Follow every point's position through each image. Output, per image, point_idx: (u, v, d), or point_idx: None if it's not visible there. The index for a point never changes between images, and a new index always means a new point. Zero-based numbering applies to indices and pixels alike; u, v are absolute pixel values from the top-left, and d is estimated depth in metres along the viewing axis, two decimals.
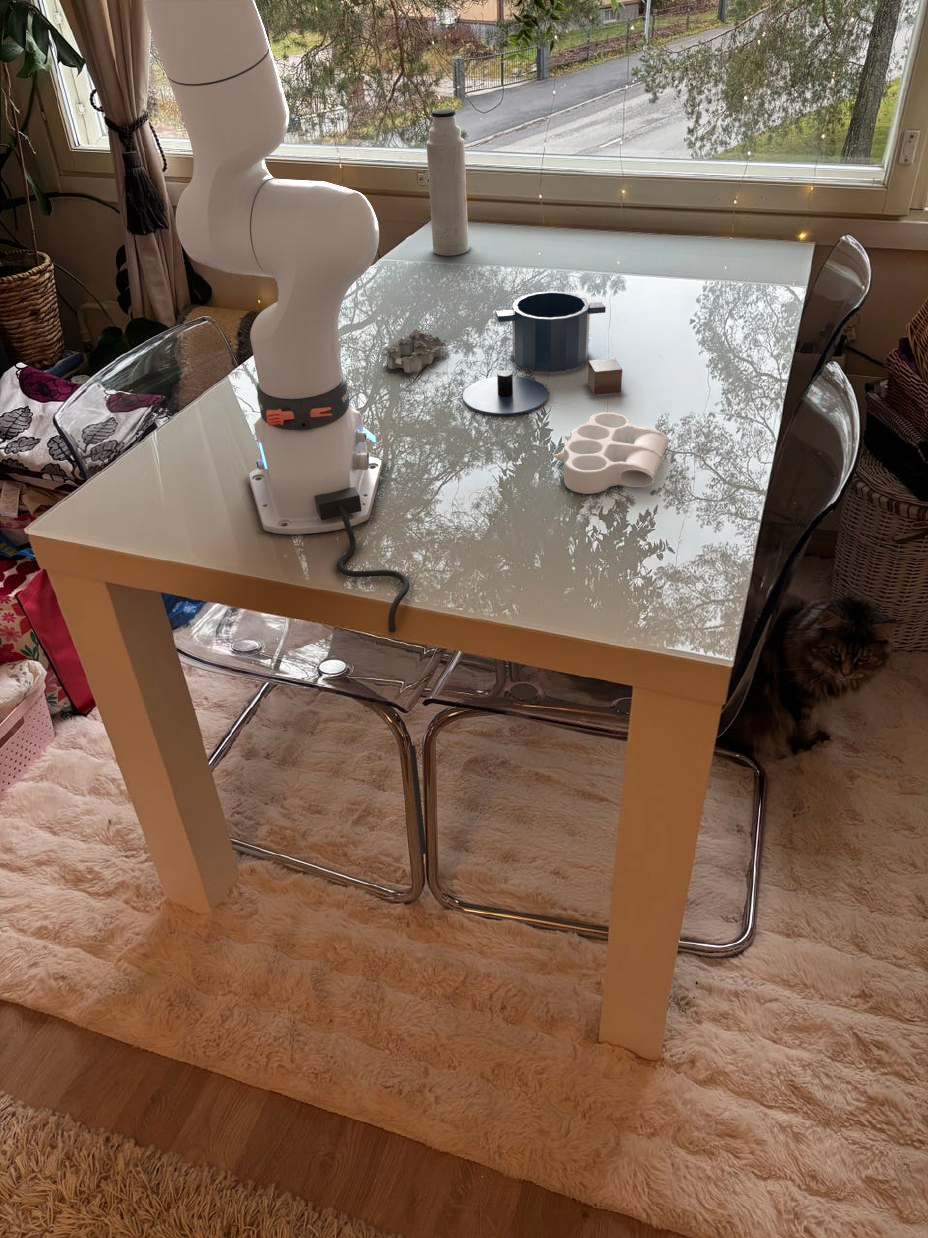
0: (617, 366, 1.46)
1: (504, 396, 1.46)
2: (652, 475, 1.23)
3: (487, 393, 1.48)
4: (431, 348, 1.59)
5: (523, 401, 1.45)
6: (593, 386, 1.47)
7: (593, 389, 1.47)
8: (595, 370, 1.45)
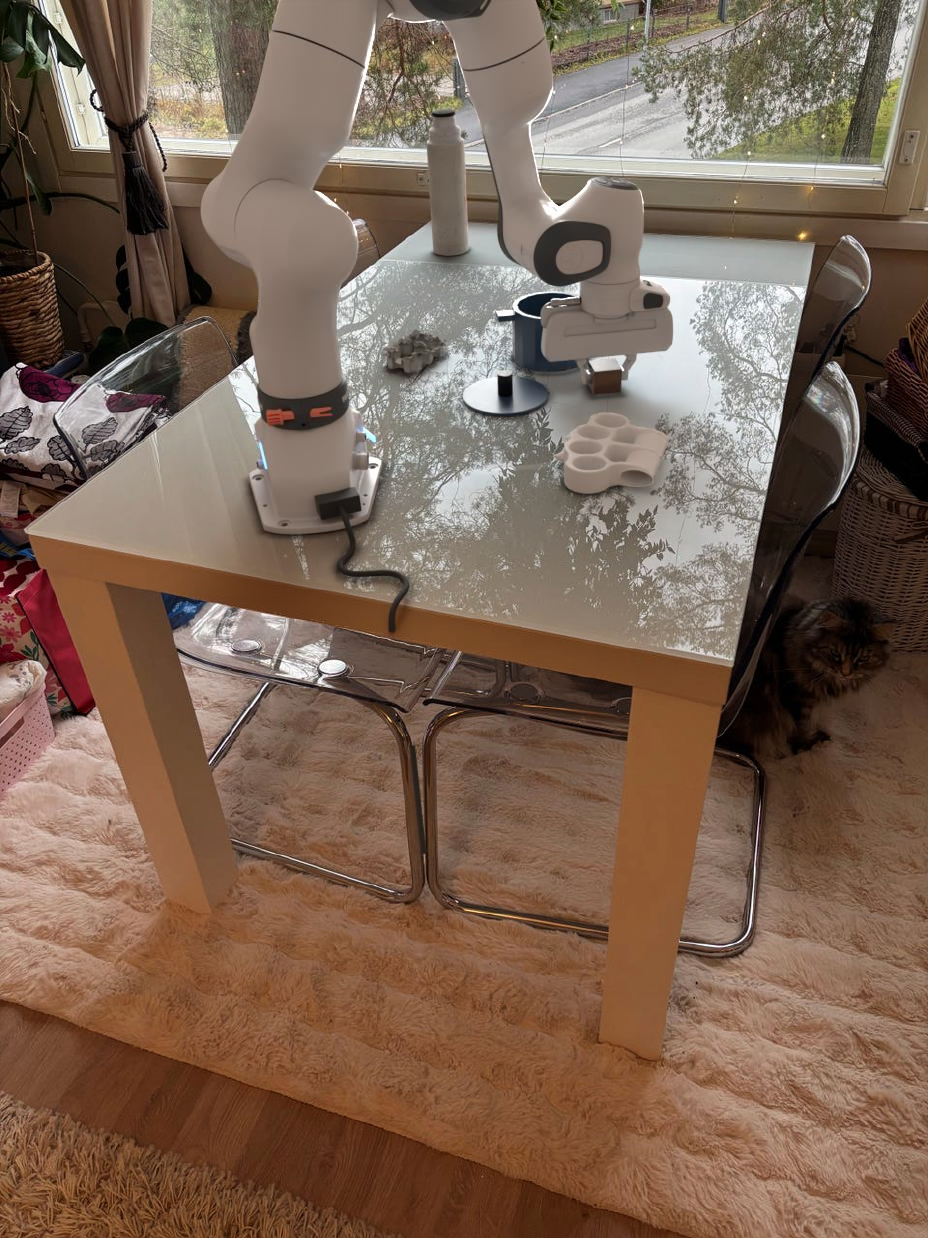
0: (617, 366, 1.46)
1: (504, 396, 1.46)
2: (652, 475, 1.23)
3: (487, 393, 1.48)
4: (431, 348, 1.59)
5: (523, 401, 1.45)
6: (593, 386, 1.47)
7: (593, 389, 1.47)
8: (595, 370, 1.45)
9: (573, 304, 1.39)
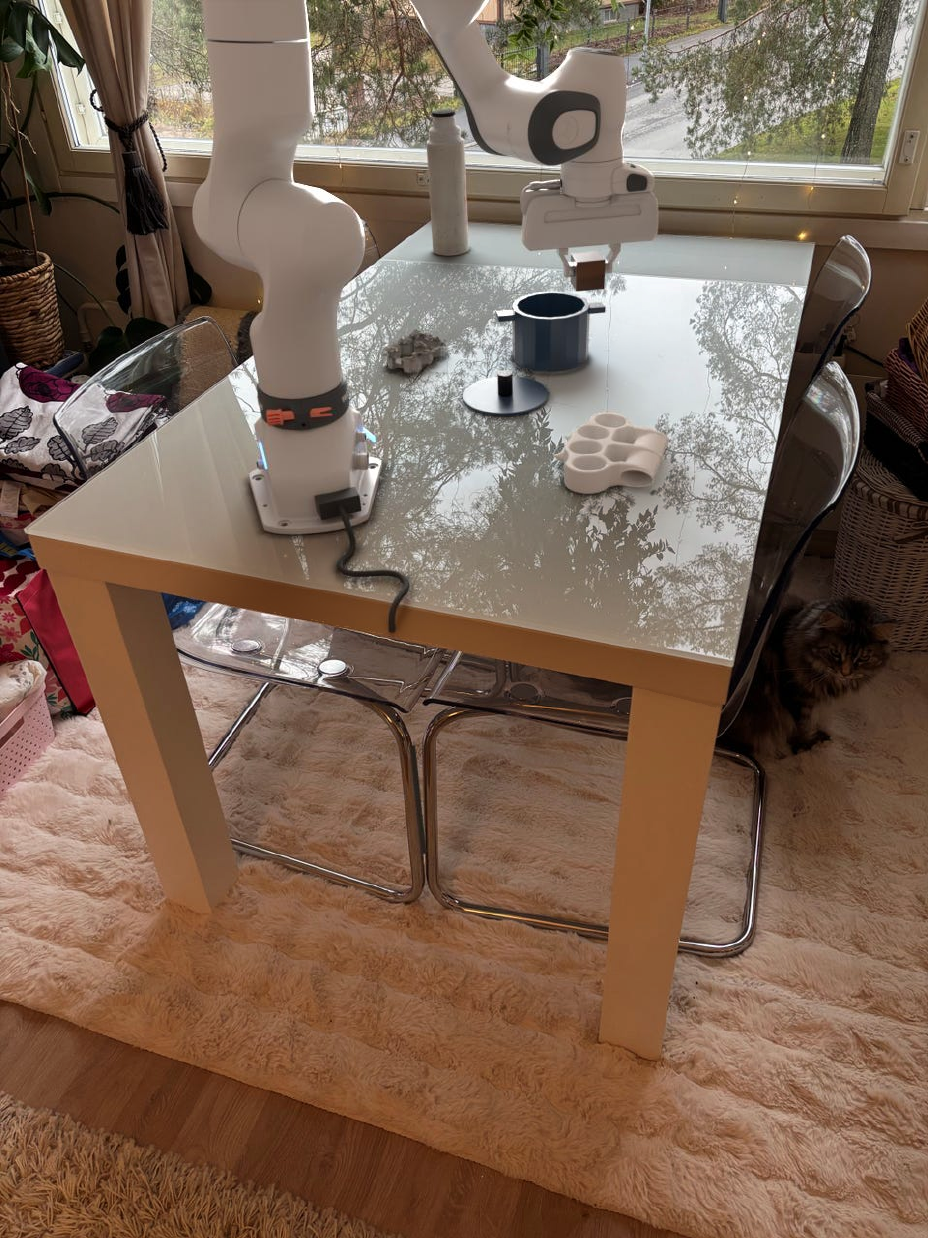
0: (600, 257, 1.40)
1: (504, 396, 1.46)
2: (652, 475, 1.23)
3: (487, 393, 1.48)
4: (431, 348, 1.59)
5: (523, 401, 1.45)
6: (575, 279, 1.41)
7: (575, 282, 1.41)
8: (577, 261, 1.39)
9: (554, 187, 1.34)
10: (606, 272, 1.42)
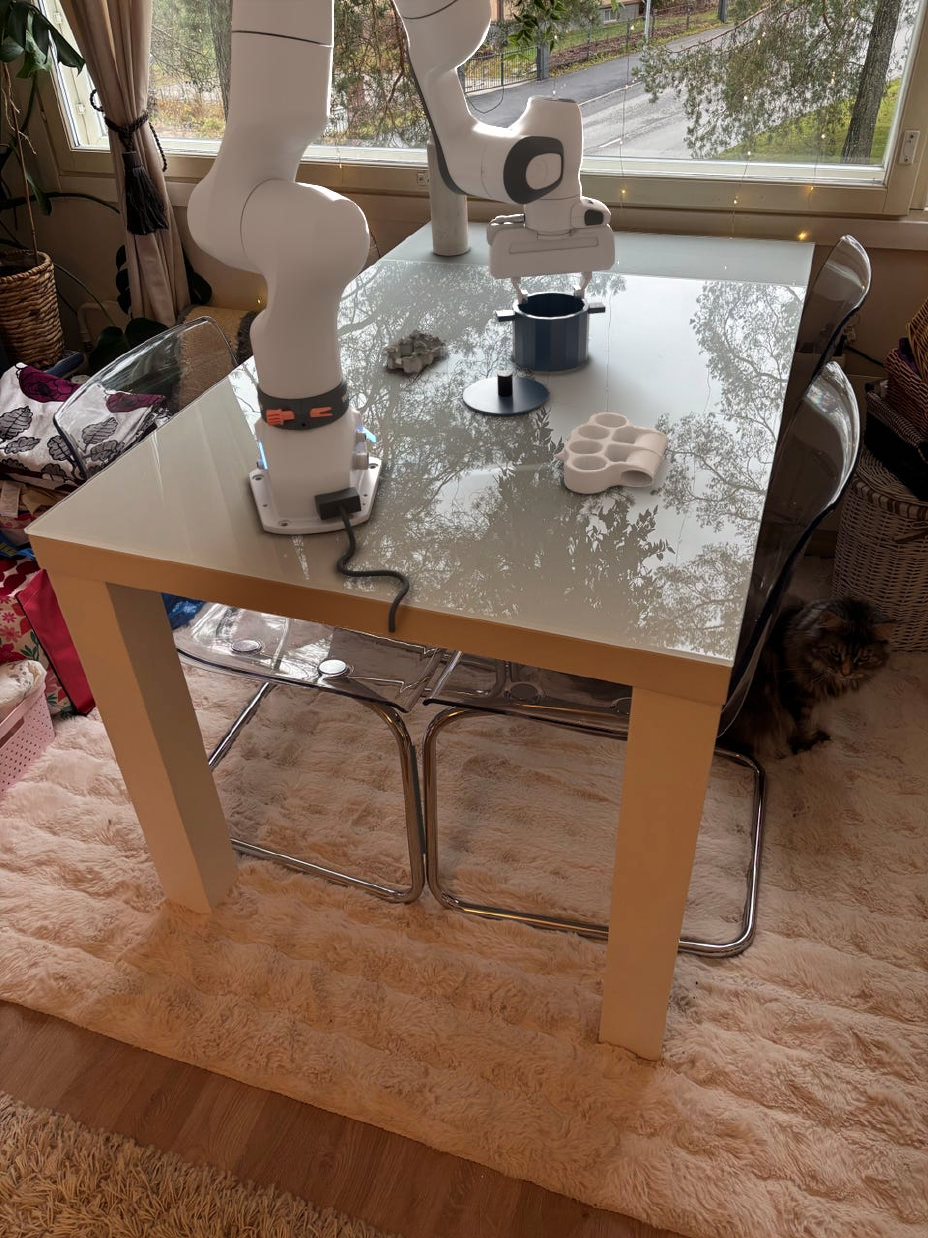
0: None
1: (504, 396, 1.46)
2: (652, 475, 1.23)
3: (487, 393, 1.48)
4: (431, 348, 1.59)
5: (523, 401, 1.45)
6: None
7: None
8: None
9: (517, 221, 1.44)
10: (579, 297, 1.53)
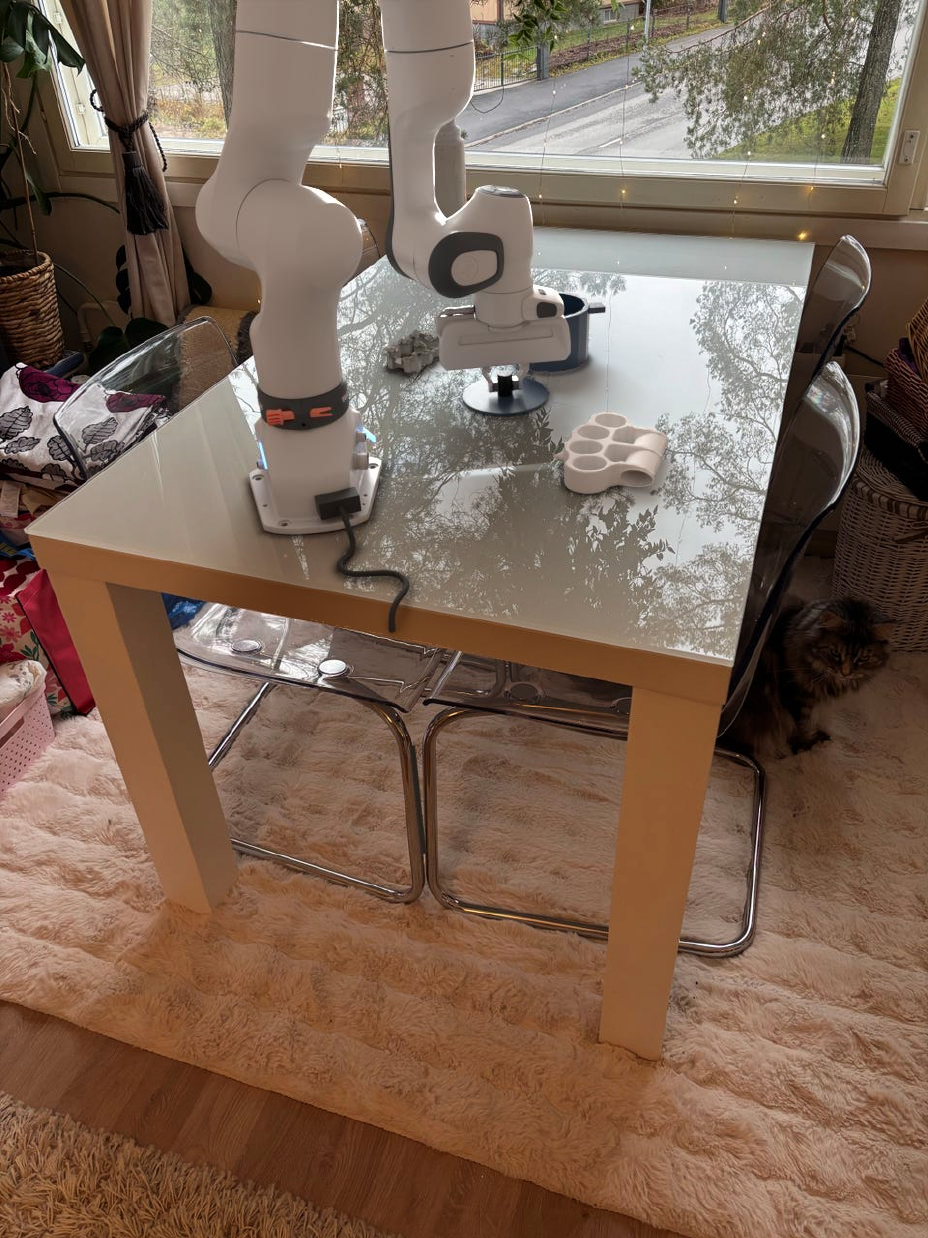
0: None
1: (504, 396, 1.46)
2: (652, 475, 1.23)
3: (487, 393, 1.48)
4: (431, 348, 1.59)
5: (522, 401, 1.45)
6: None
7: None
8: None
9: (467, 313, 1.38)
10: (516, 389, 1.46)
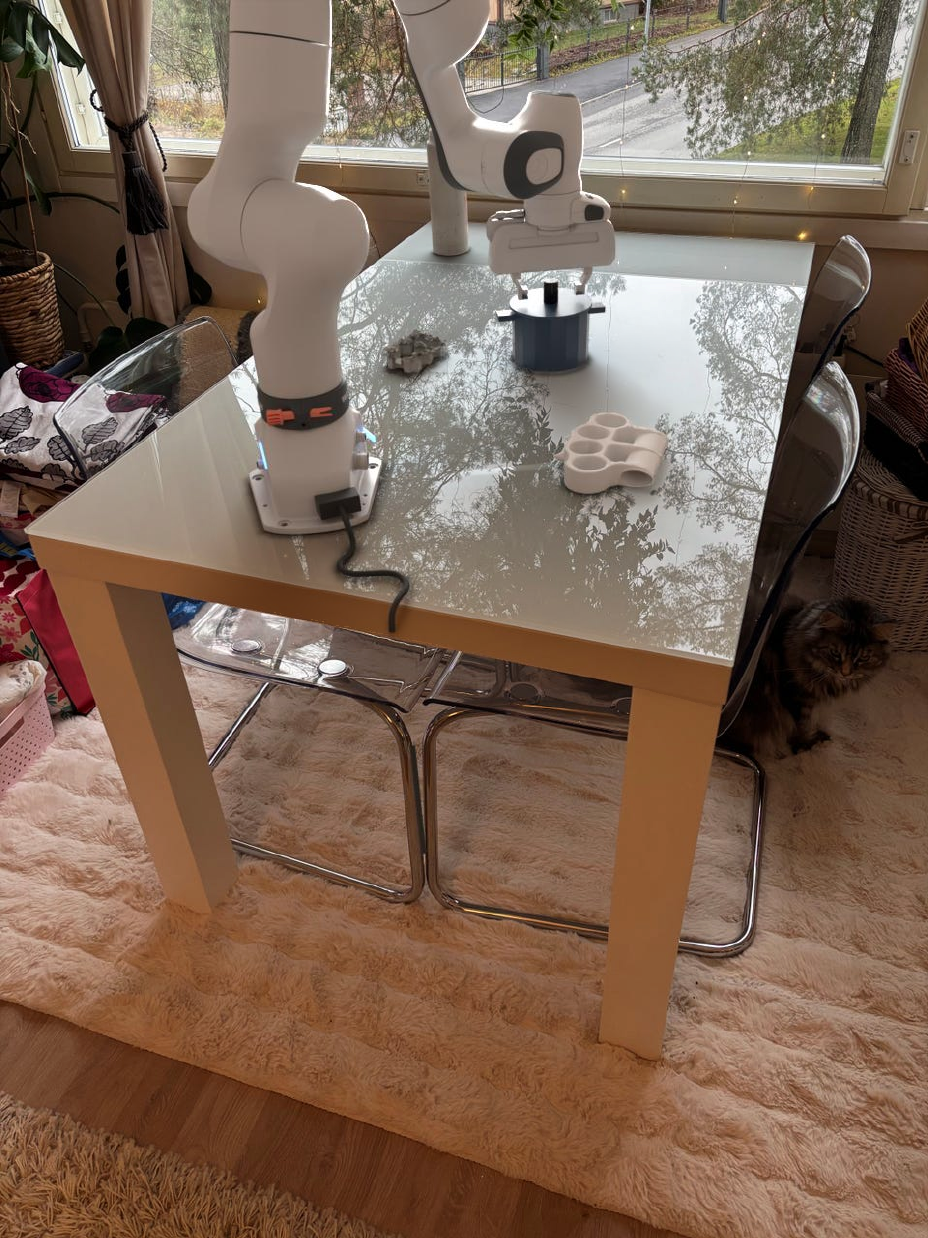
0: None
1: (550, 303, 1.52)
2: (652, 475, 1.23)
3: (533, 301, 1.54)
4: (431, 348, 1.59)
5: (568, 307, 1.51)
6: None
7: None
8: None
9: (517, 217, 1.44)
10: (579, 293, 1.52)
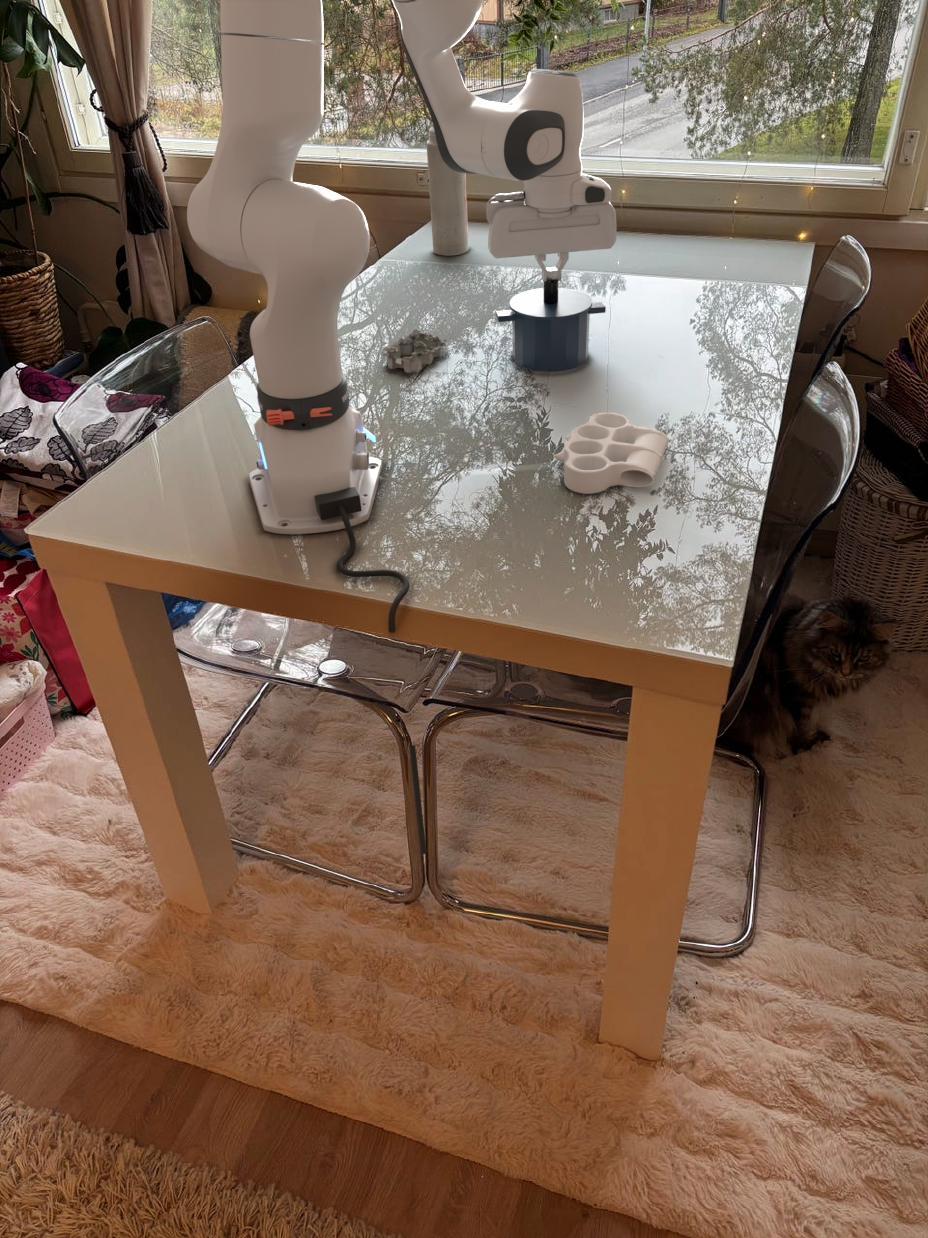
0: None
1: (550, 303, 1.52)
2: (652, 475, 1.23)
3: (533, 301, 1.54)
4: (431, 348, 1.59)
5: (568, 307, 1.51)
6: None
7: None
8: None
9: (517, 199, 1.42)
10: (556, 279, 1.50)
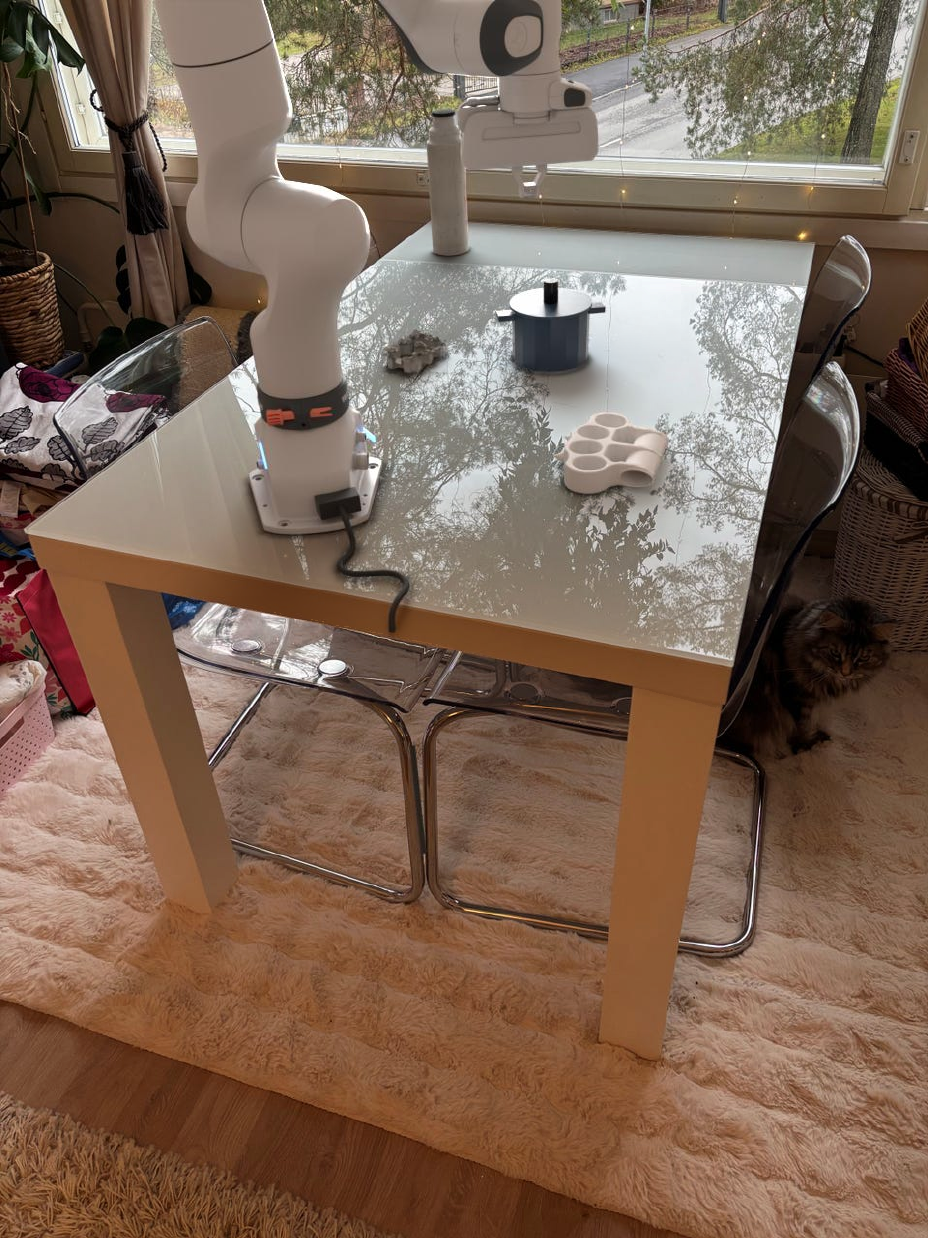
0: None
1: (550, 303, 1.52)
2: (652, 475, 1.23)
3: (533, 301, 1.54)
4: (431, 348, 1.59)
5: (568, 307, 1.51)
6: None
7: None
8: None
9: (491, 103, 1.32)
10: (534, 195, 1.40)
